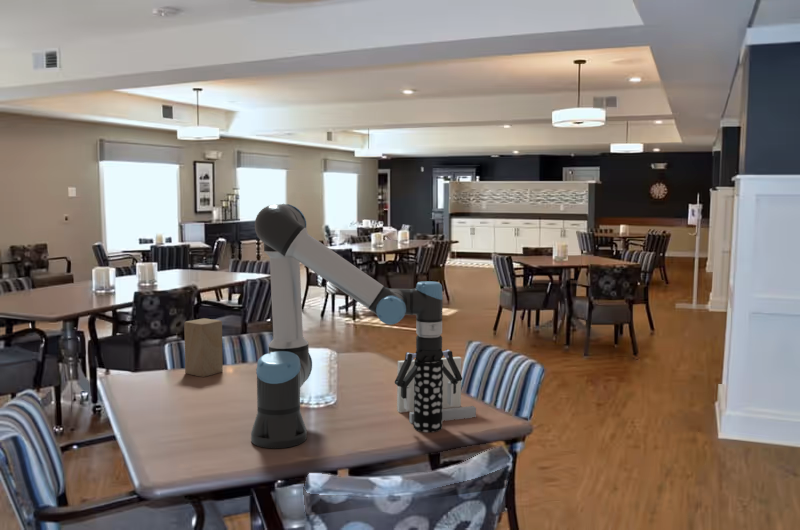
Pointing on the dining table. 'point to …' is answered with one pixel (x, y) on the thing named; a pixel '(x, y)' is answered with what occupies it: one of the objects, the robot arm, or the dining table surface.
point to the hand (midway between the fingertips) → (428, 406)
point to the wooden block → (203, 347)
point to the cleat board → (449, 412)
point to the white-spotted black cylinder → (428, 396)
